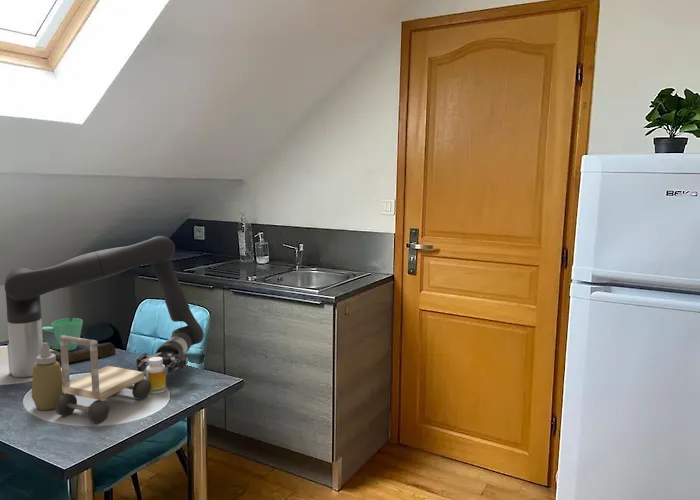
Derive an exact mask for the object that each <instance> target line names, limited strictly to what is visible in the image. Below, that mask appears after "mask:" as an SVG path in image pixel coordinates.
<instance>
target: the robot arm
mask: <svg viewBox="0 0 700 500" xmlns="http://www.w3.org/2000/svg"><path fill="white" fill-rule="evenodd" d="M175 249H176V246H175V243H174V242H173V241H172V240H171V238H169V237H166V236H164V235H157V236H154V237H151V238H149V239H146V240H143V241H140V242H138V243H134V244H131V245H130V244H129V245H128V246H127V245H126V246H120V247H119V246H118V247H112V248H106V249H101V250H96V251H93V252H88V253H84V254H80V255H77V256H75V257H73V258H70V259H68V260H65V261H62V262H60V263H58V264H55V265H53V266H49V267H44V268H40V269H35V270H32V269H30V268H28V267H18V268H15V269H12V270H11V271H10V272H8V274H7V275H6V277H5V279H4V291H5V301H6V303H5V304H6V319H7V320H6V321H7V331H8V333H7V334H8V343H7V357H8V373H9V374H10V375H11V376H12V377H14V378H28V377H33V366H34V365H35V364H37V363H36V357H37V356H39V355H41V350H42V344H43V339H44V338H43V334H44V333H43V332H42V327H43V321H42V305H41V296H42V295H44V294H47V293H50V292H54V291H57V290H59V289H60V290H61V289H64V288H69V287H74V286H78V285H84V284H86V283H92V282H96V281H100V280H103V279H106V278H109V277H112V276H116V275H119V274H121V273H124V272H127V271H128V270H131V269H134V268H137V267H140V266H147V265H150V266H151V268H152V270H153V272H154V273H155V276H156V278H157V281H158V284H159V287H160V289H161V292H162V295H163V300H164V303H165V306H166V308H167V312H168V314H169V318H170V319H171V321H172V322H175V323H177V322H181V323H182V322H183V323H185V324H186V326H185V325H184V326H180V327H178V328H176V329H174V330H173V331H172V332H171V336H170V338H169V339H167V340H166V341H164V342H163V344H161V345H160V346H159V347H157V350H156V352H155V353H154V354H152V355H148V353H146V352H145V353H143V354H141V355H140V356H139V357H137V358H136V359H135V361H136V364H135V365H136V369H137V370H136V371H140V372H144V371H145V370H146V368H147V366H149V364H148V359H149V358H152V357H162V358H163V363H162V364H163V365H165V368H167V374H171V373H172V372H174V371H175V370H177V369H178V368H179V369H181V370H184V369H185V367H186V366H187V364H188V363H189V356H188V354H186V353H188V351H189V350H190V349H191V347H192V346H193V345H198V344H200V343H201V342H202V341H203V340H204V337H205V336H204V335H205V333H204V330H203V327H201V325H200V323H199V322H198V320H197V319H196V318H195V317H194V314H193V313H192V311H191V308H190V306H189V302H188V300H187V299H188V298H187V297H186V294H185V292H184V290H183V288H182V287H183V286H181V283H180V281H179V279H178V277H177V275H176V272H175V270H174V269H175V267H174V265H173V259H172V258H173V256H174V254H175V251H176V250H175Z"/></svg>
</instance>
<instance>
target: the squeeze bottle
mask: <svg viewBox="0 0 700 500" xmlns="http://www.w3.org/2000/svg"><path fill="white" fill-rule="evenodd" d="M48 343H49V342H48ZM48 343H47V341H46V342H45V343H43V344H42V350H41V355H39V356H37V357H36V363H37V364H35V365H34V366H33V376H31V377H32V378H31V379H32V380H31V381H32V382H31V399H32V401H33V403H34V405H35V407H36V409H37V410H39V411H49V410H53V409H54V410H55V404H56V401H57V399H58V398H59V397H60V396H61V395H62V394H65V393H63V391H62V385H63V381H62V366H61V365H60V363H59V362H57V361H56V354H54V353H52V352H51V350H50V349H51V348H50V347H49V346H48Z"/></svg>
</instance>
